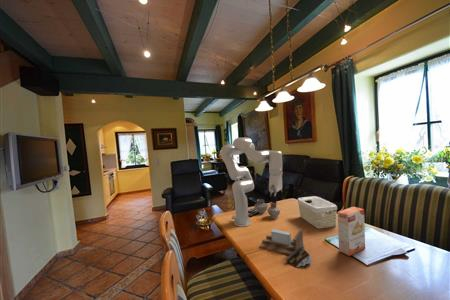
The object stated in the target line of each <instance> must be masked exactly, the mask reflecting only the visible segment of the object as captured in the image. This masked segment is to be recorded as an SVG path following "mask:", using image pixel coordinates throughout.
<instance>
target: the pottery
mask: <svg viewBox="0 0 450 300" xmlns="http://www.w3.org/2000/svg"><path fill="white" fill-rule="evenodd" d="M269 204H270V206H269ZM269 204H268V203H265V199H263V198H258V199H257V200H256V202H255V204H254V205H253V207H254V209H255V211H256V212H257V213H258V212H259V213H258V214H259V215H260V214H261V215H262V214H265V213H266V211H267V213H268V215H270V219H272V220H273V219H274V220H276V219H279V215H280V213H281V208H280V207H278V206H277V204H278V203H277V201H276V203H271V201H270V202H269Z"/></svg>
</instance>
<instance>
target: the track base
mask: <svg viewBox="0 0 450 300" xmlns="http://www.w3.org/2000/svg"><path fill="white" fill-rule="evenodd" d="M265 236H266V238H265V239H262V240H261V242H262V243H261V244H260V245H259V248H261V249H264V250H267V251H271V252H275V253H278V254H279V253H280V254H282V255H286V256H290V255H291V254H292V253H293V252H294V251H295V250H296V249H297V248H299V247H300V246H301V245H303V244H304V237H303V236H304V235H303V228H299V229H298V231H297V232H296V234H295V235H294V237H293V240H292V239H291V246H287V245H283V244H279V243H275V242H272V237H271V235H270V234H269V235H265ZM303 246H304V245H303Z"/></svg>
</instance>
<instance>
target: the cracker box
mask: <svg viewBox="0 0 450 300" xmlns="http://www.w3.org/2000/svg"><path fill="white" fill-rule="evenodd" d="M365 225H366V224H365V209H364V208H361V207H356V206H351V207H348V208H345V209H342V210H339V211H337V230H338V231H337V232H338V233H337V234H338V236H337V238H338V251H339V252H340V253H342V254H345V255H346V256H349V257H351V256H353V255H354V253H355V254H357V253H358V251H359V252H361V251H362V250H364V249H366V231H365V230H366V228H365V227H366V226H365ZM356 252H357V253H356ZM352 254H353V255H352Z"/></svg>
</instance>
